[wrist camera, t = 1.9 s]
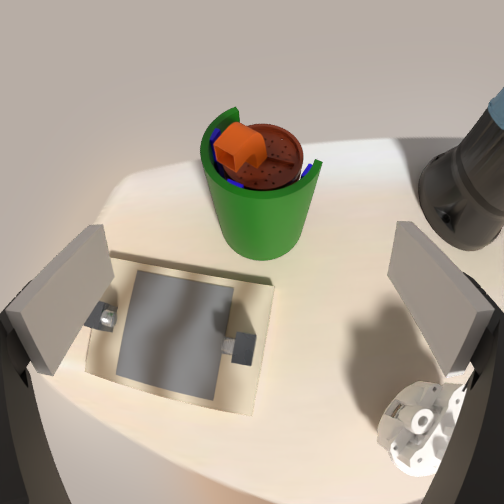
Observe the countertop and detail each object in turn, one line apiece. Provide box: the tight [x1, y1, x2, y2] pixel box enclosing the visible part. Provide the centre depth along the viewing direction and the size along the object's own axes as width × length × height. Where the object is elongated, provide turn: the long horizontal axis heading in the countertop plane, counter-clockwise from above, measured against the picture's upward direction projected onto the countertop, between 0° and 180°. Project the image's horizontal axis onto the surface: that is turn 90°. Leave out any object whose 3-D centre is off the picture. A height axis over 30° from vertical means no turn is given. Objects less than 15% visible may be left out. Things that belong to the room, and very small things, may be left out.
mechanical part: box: [377, 381, 467, 477], centre depth 26 cm, size 11×12×12 cm
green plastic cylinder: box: [200, 107, 323, 261], centre depth 30 cm, size 10×9×20 cm
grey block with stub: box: [221, 332, 257, 366], centre depth 32 cm, size 3×3×4 cm
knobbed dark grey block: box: [84, 301, 118, 333], centre depth 34 cm, size 3×3×4 cm
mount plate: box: [85, 257, 275, 416], centre depth 35 cm, size 21×15×1 cm
